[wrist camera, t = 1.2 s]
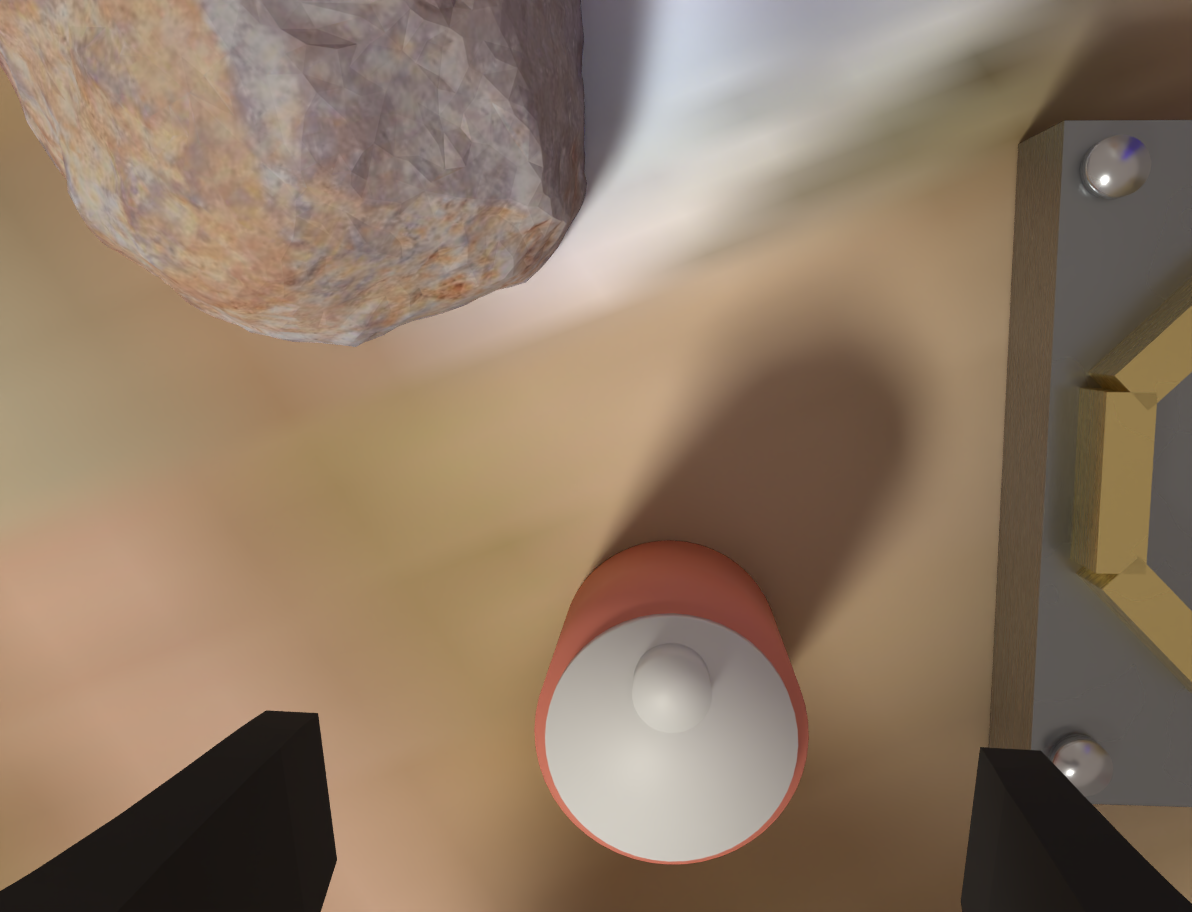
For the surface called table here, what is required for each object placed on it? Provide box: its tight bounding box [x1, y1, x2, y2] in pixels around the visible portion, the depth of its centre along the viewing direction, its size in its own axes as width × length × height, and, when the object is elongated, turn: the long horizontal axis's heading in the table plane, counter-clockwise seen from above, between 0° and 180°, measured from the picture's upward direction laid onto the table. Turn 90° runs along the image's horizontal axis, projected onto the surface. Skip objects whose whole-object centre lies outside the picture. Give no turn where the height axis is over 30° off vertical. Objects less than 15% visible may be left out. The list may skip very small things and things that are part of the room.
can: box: [535, 540, 809, 864], centre depth 20 cm, size 4×4×6 cm
